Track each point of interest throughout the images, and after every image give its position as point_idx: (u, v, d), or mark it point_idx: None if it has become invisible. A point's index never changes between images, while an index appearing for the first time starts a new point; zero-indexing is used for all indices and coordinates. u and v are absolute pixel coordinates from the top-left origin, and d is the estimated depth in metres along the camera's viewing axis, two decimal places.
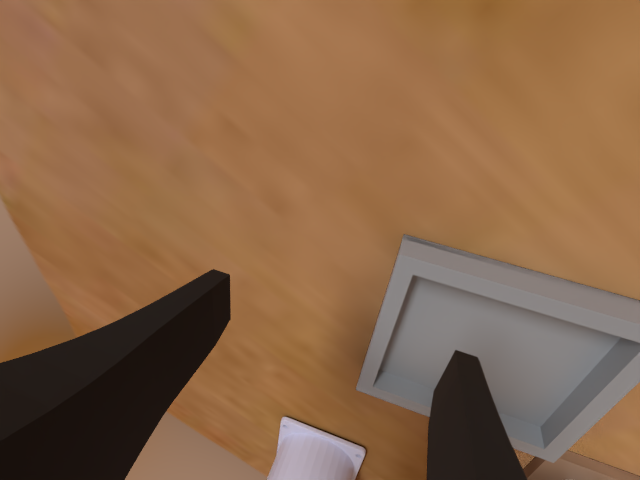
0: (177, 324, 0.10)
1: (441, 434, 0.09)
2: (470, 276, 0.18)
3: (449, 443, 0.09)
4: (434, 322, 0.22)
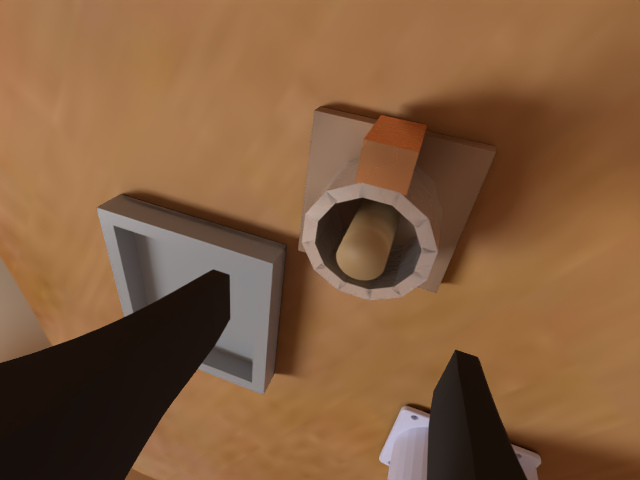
0: (177, 324, 0.10)
1: (441, 434, 0.09)
2: (124, 312, 0.28)
3: (449, 443, 0.09)
4: None
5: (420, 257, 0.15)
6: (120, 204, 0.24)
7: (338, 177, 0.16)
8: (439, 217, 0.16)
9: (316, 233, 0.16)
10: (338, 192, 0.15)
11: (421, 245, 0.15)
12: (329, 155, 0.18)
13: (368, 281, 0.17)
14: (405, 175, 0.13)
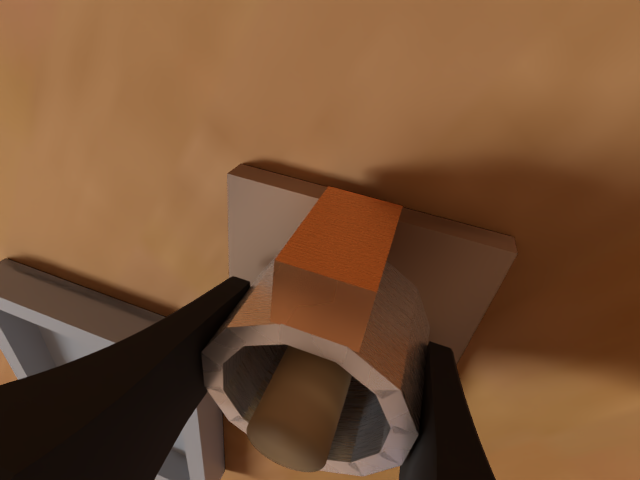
0: (201, 333, 0.09)
1: None
2: None
3: (419, 432, 0.09)
4: None
5: (389, 436, 0.09)
6: None
7: (257, 290, 0.10)
8: (424, 348, 0.10)
9: (224, 377, 0.10)
10: (246, 332, 0.08)
11: (390, 422, 0.09)
12: (257, 237, 0.12)
13: None
14: (354, 324, 0.07)
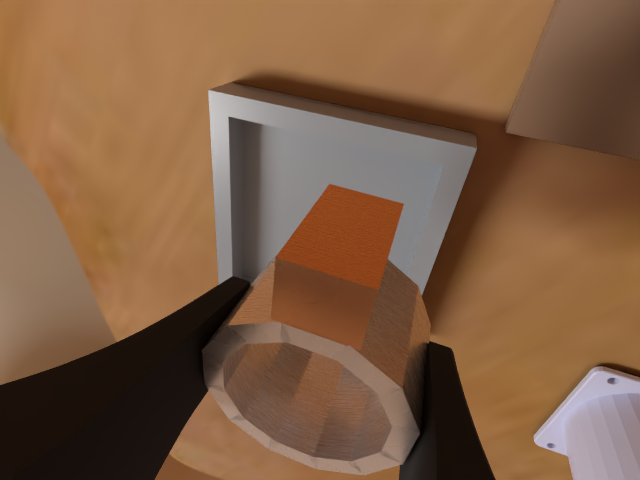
0: (201, 333, 0.09)
1: None
2: (218, 253, 0.22)
3: None
4: None
5: (390, 434, 0.09)
6: (236, 89, 0.18)
7: (258, 288, 0.10)
8: (425, 346, 0.10)
9: (224, 376, 0.10)
10: (246, 330, 0.08)
11: (391, 420, 0.08)
12: None
13: (315, 437, 0.11)
14: (356, 321, 0.07)
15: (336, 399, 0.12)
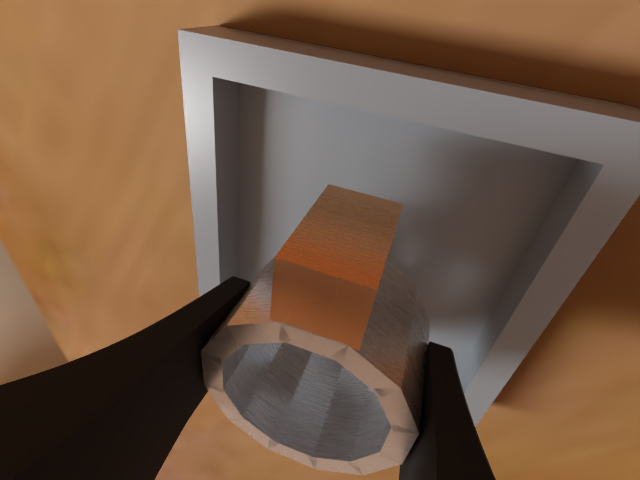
0: (201, 333, 0.09)
1: None
2: (200, 288, 0.15)
3: (419, 431, 0.09)
4: None
5: (389, 435, 0.09)
6: (226, 33, 0.10)
7: (257, 288, 0.10)
8: (424, 347, 0.10)
9: (224, 376, 0.10)
10: (245, 330, 0.08)
11: (390, 420, 0.08)
12: None
13: (314, 437, 0.11)
14: (355, 321, 0.07)
15: (335, 399, 0.12)
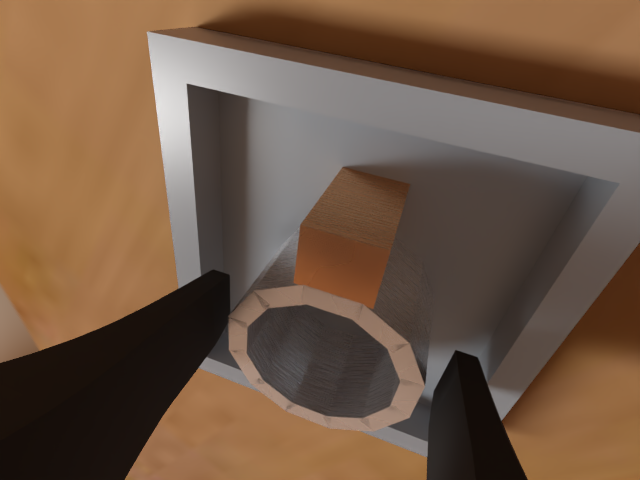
0: (177, 324, 0.10)
1: (441, 434, 0.09)
2: None
3: (449, 443, 0.09)
4: None
5: (398, 389, 0.10)
6: (202, 35, 0.10)
7: (278, 260, 0.11)
8: (429, 315, 0.11)
9: (247, 340, 0.11)
10: (271, 294, 0.09)
11: (399, 375, 0.10)
12: None
13: (328, 399, 0.12)
14: (370, 281, 0.08)
15: (347, 368, 0.13)
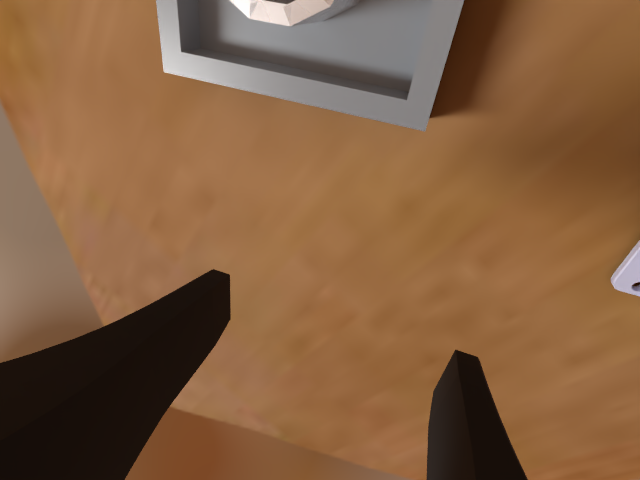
0: (177, 324, 0.10)
1: (441, 434, 0.09)
2: None
3: (449, 443, 0.09)
4: None
5: None
6: None
7: None
8: None
9: None
10: None
11: None
12: None
13: None
14: None
15: None
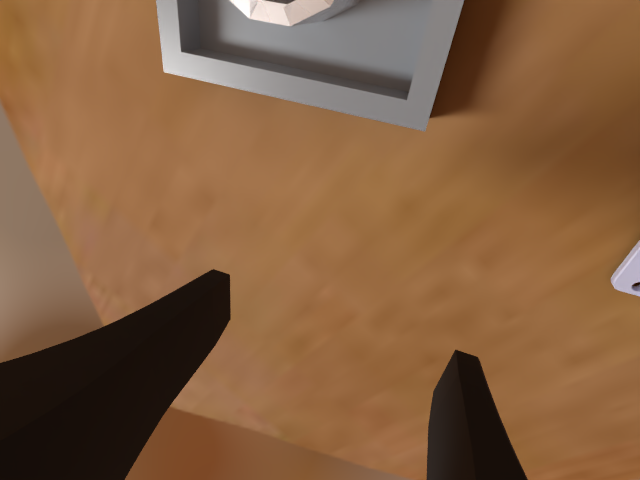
0: (177, 324, 0.10)
1: (441, 434, 0.09)
2: None
3: (449, 443, 0.09)
4: None
5: None
6: None
7: None
8: None
9: None
10: None
11: None
12: None
13: None
14: None
15: None
